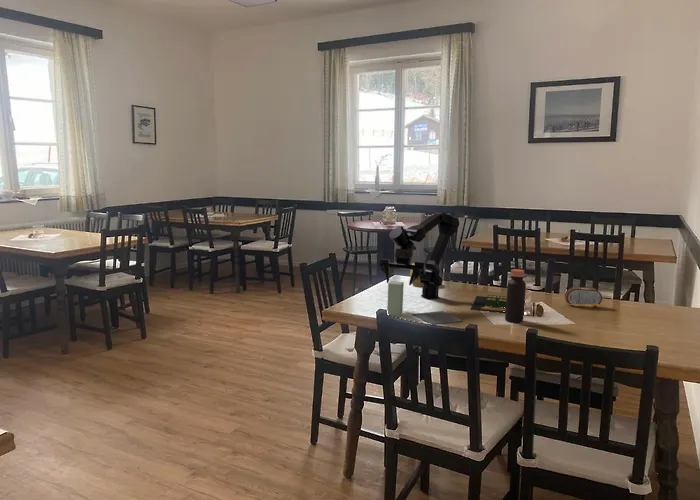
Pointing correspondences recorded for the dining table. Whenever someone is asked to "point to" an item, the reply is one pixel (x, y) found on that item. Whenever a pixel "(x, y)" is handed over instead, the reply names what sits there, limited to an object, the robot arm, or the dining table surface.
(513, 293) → the bottle
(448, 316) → the mat
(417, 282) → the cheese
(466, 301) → the dining table surface
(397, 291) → the block
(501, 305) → the sushi
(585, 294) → the tin
